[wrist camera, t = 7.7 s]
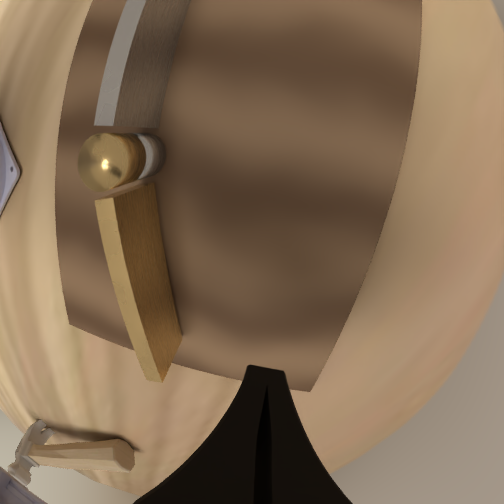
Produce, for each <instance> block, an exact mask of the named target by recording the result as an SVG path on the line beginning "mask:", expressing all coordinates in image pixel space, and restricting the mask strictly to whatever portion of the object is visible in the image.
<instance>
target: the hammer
mask: <svg viewBox="0 0 504 504" xmlns="http://www.w3.org/2000/svg"><path fill="white" fill-rule="evenodd" d="M46 426H47V425H46V424H45V423H44V422H43V421H42V420H41V419H40V420H38V421H37V422H35V423H33V424H32V425H31V426H30V427H29V428H28V429H27V431H26V433H25V435H24V436H23V438H22V439H21V441H20V443H19V445H18V447H17V450H16V452H15V457H16V460H15V462H14V463H12V464H10V465H9V466H8V473H9V474H10V475H12V476H13V477H14V478H15V479H16V480H18V481H19V482H20V483H21V484H23V485H24V486H27V485H28V484H29V483H30V481H31V478H30V476H31V474H30V472H29V470H30V468H31V467H32V466H34V467H39V465H44V466H52V467H59V468H67V469H81V470H102V471H113V472H130V471H131V470H132V468H133V466H134V465H135V460H134V451H133V449H132V448H131V447H130V445H129V444H128V443H127V442H125V441H124V440H121V439H113V440H105V441H97V442H76V443H68V444H57V445H44V444H45V443H46V441H47V440H48V439H49V437H51V436H52V435H53V434H54V432H53V431H52V430H51V429H50V428H48V429H46V430H44V431H42V429H43V428H44V427H46Z"/></svg>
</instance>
